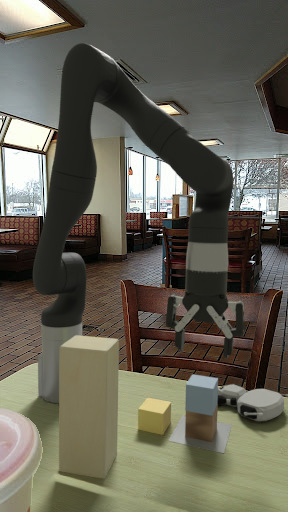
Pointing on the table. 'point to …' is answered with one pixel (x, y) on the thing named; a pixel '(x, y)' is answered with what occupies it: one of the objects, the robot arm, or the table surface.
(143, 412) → the yellow cube
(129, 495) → the table surface
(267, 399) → the robot toy
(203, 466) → the table surface
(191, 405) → the brick blue
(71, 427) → the cream tall block
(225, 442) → the base plate
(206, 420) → the brick walnut
